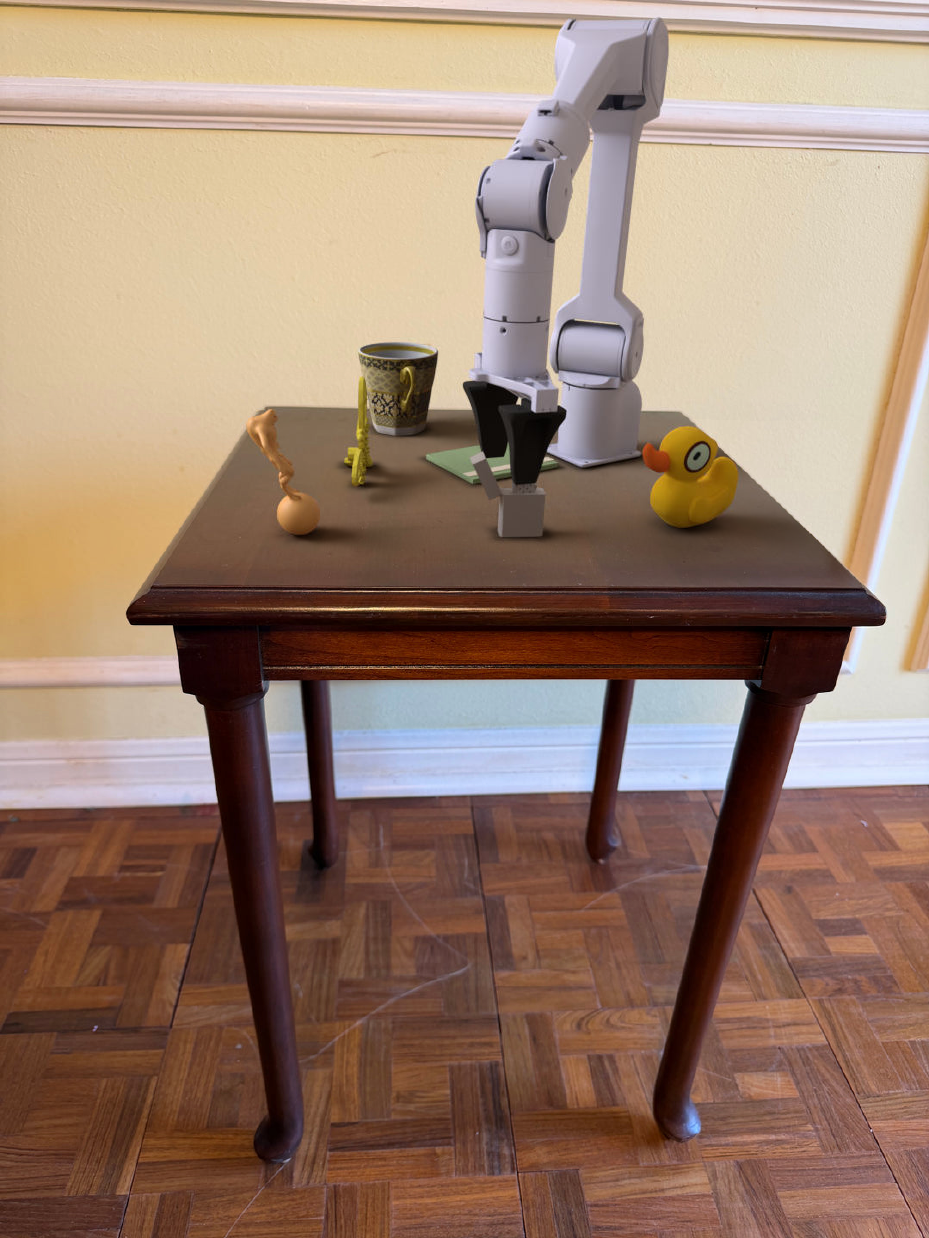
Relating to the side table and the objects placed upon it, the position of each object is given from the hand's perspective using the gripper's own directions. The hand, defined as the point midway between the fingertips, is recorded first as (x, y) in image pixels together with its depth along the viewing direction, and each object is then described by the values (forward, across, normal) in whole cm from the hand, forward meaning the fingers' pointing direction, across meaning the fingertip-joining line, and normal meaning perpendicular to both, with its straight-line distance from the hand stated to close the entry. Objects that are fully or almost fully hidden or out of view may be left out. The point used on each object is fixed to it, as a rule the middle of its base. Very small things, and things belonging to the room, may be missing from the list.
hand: (508, 469), depth 82 cm
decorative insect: (+7, -18, -10) cm, 22 cm away
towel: (+6, -20, +6) cm, 22 cm away
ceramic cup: (+7, -35, 0) cm, 36 cm away
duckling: (+7, +3, +18) cm, 20 cm away
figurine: (+7, -6, -20) cm, 22 cm away
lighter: (+7, 0, 0) cm, 7 cm away
